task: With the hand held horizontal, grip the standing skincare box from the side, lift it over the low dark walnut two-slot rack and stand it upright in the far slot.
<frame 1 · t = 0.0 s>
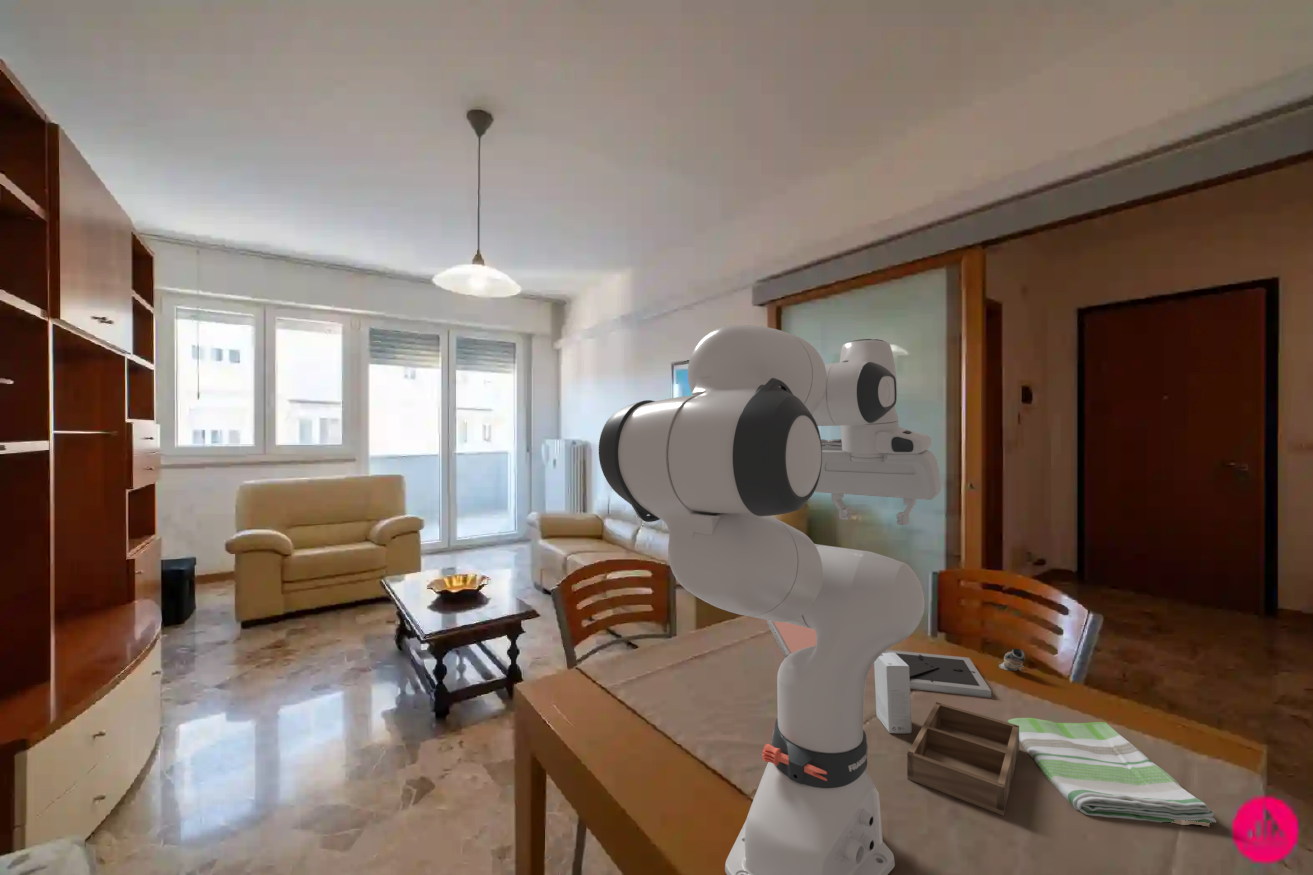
hand: (873, 521, 89), 39 cm above the table, tool pointing down, fingers open, 8 cm apart
vase: (1014, 674, 116), on the table
skincare box: (892, 725, 97), on the table
walnut slot rack: (965, 763, 86), on the table
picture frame: (926, 677, 117), on the table
dish towel: (1095, 773, 84), on the table
notebook: (808, 642, 136), on the table
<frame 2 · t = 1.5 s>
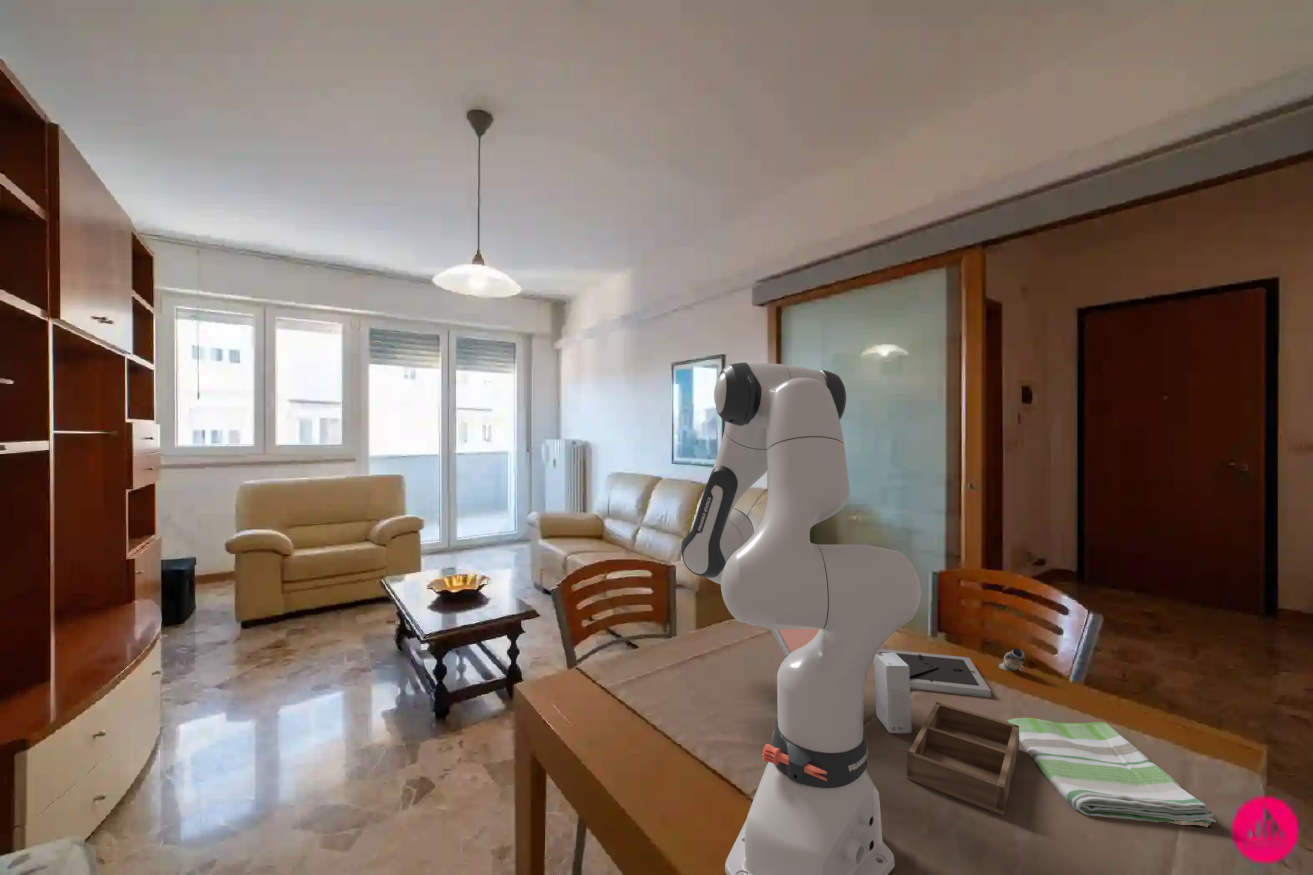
hand: (826, 591, 105), 22 cm above the table, tool horizontal, fingers open, 8 cm apart
nothing on the table moved.
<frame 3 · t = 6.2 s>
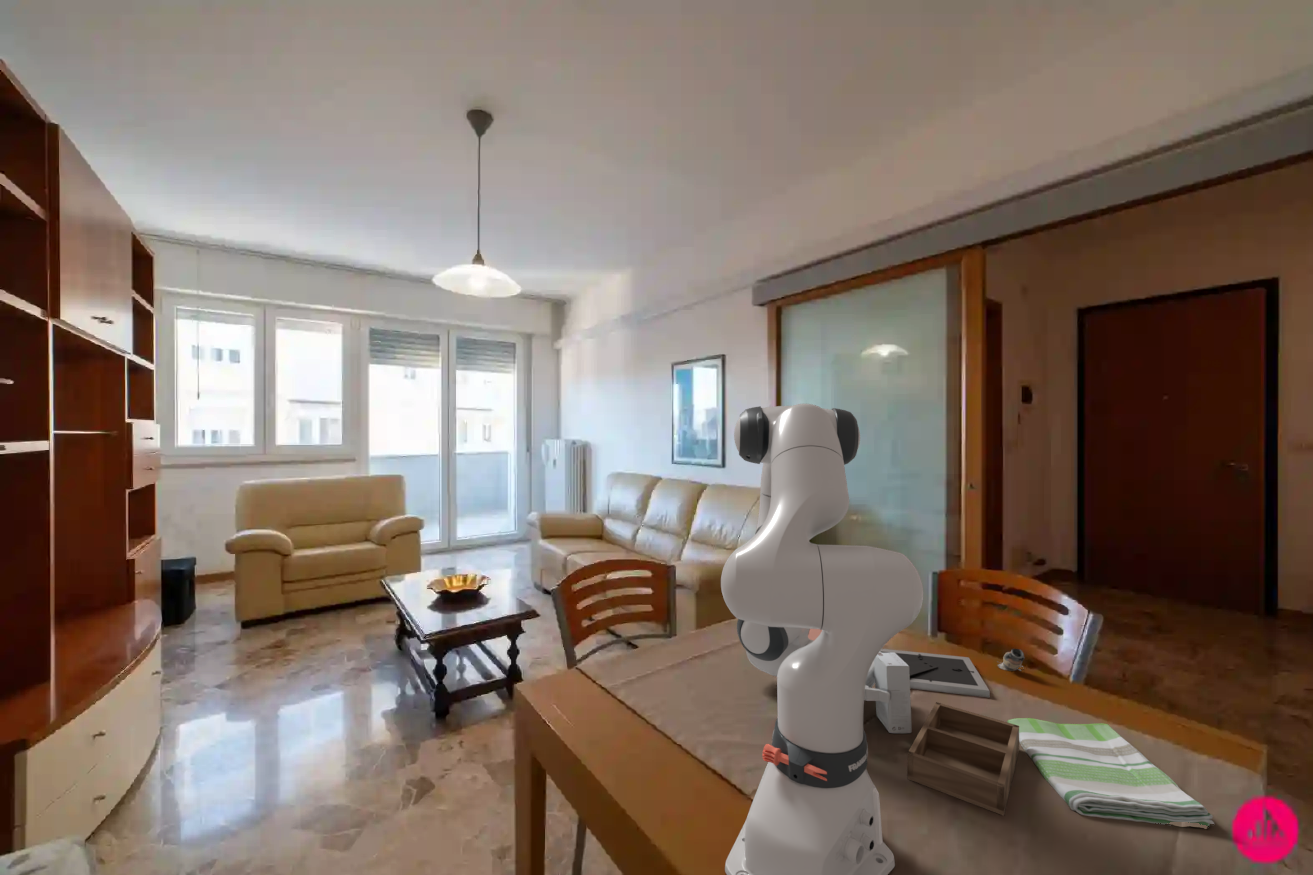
hand: (897, 687, 97), 7 cm above the table, tool horizontal, fingers closed on skincare box, 7 cm apart
skincare box: (892, 725, 97), on the table, touching gripper
everything else where it was.
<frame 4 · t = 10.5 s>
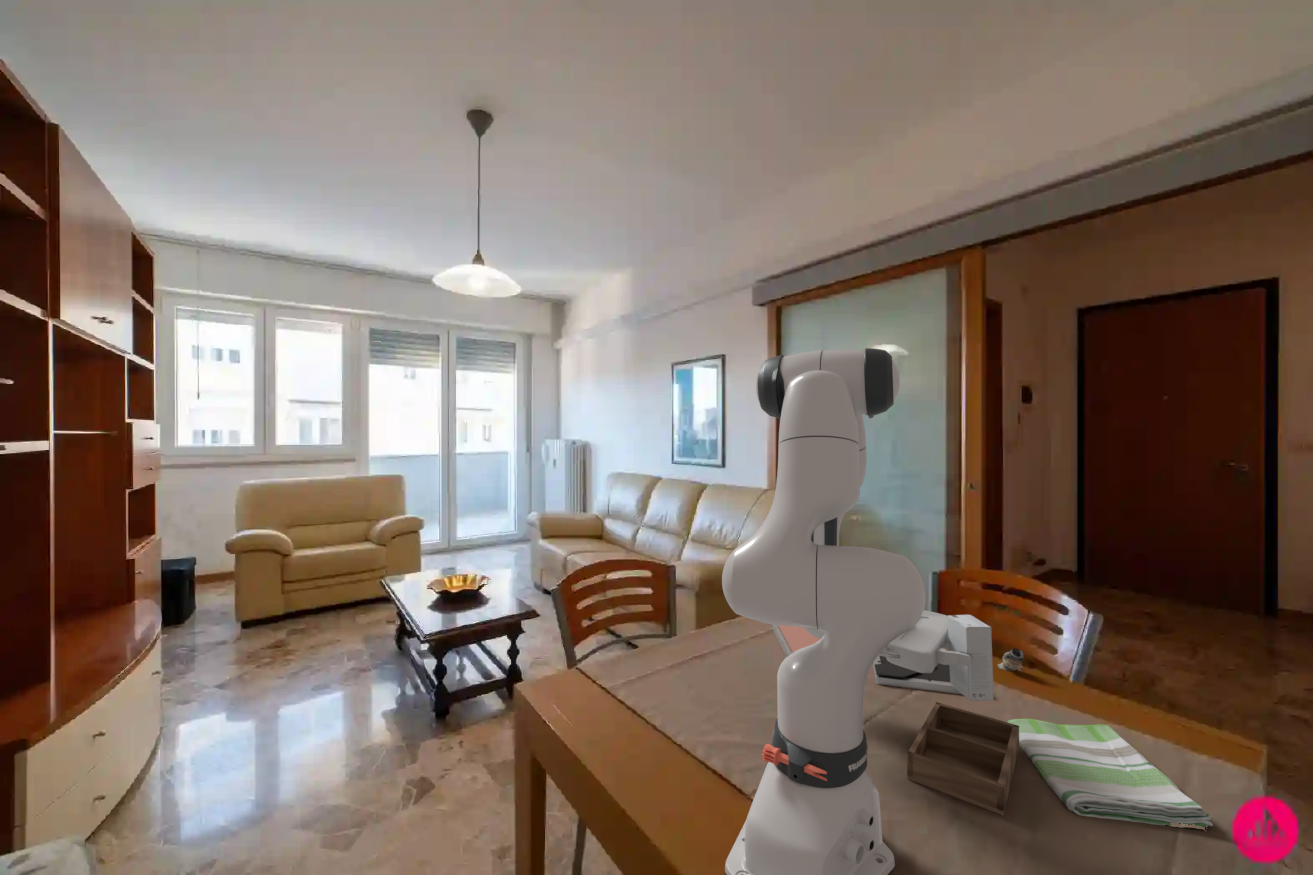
hand: (976, 651, 88), 17 cm above the table, tool horizontal, fingers closed on skincare box, 7 cm apart
skincare box: (969, 692, 89), point 10 cm above the table, touching gripper
everything else where it was.
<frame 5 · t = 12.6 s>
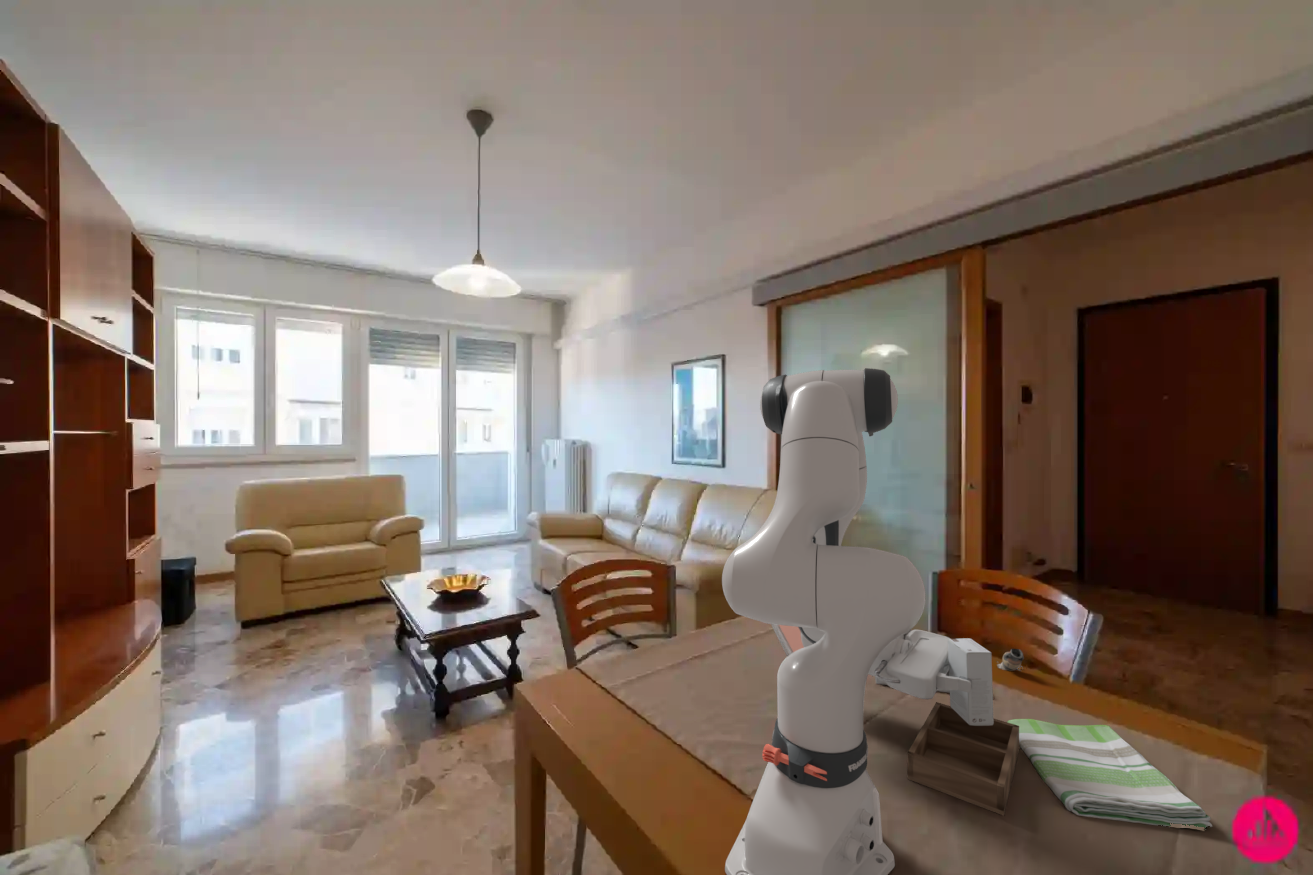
hand: (976, 675, 89), 13 cm above the table, tool horizontal, fingers closed on skincare box, 7 cm apart
skincare box: (969, 716, 90), point 5 cm above the table, touching gripper
everything else where it was.
when the fingers open (9 cm above the table, at t = 14.7 s): skincare box drops 1 cm, resting on walnut slot rack.
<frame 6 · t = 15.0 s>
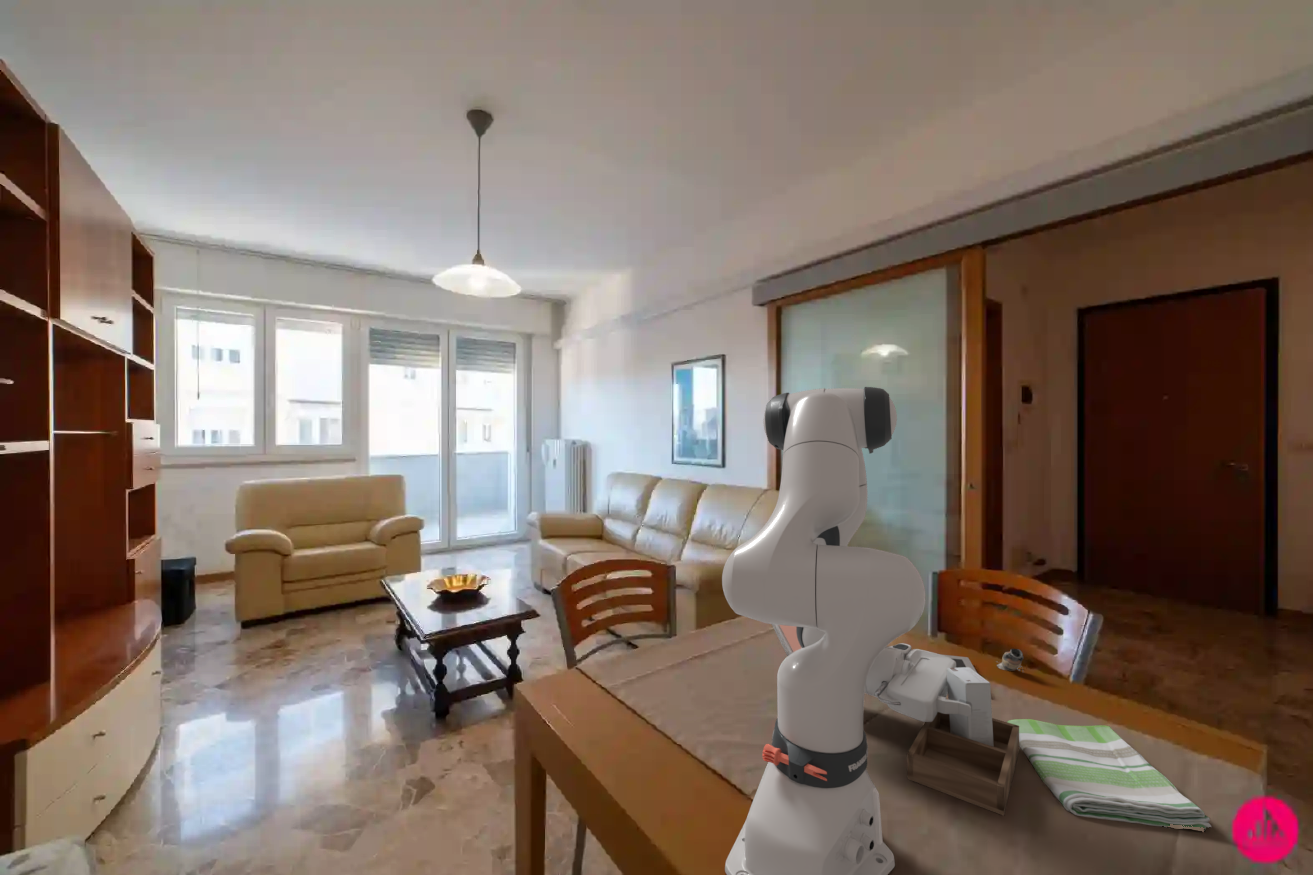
hand: (976, 697, 89), 9 cm above the table, tool horizontal, fingers open, 8 cm apart
skincare box: (970, 746, 89), resting on walnut slot rack
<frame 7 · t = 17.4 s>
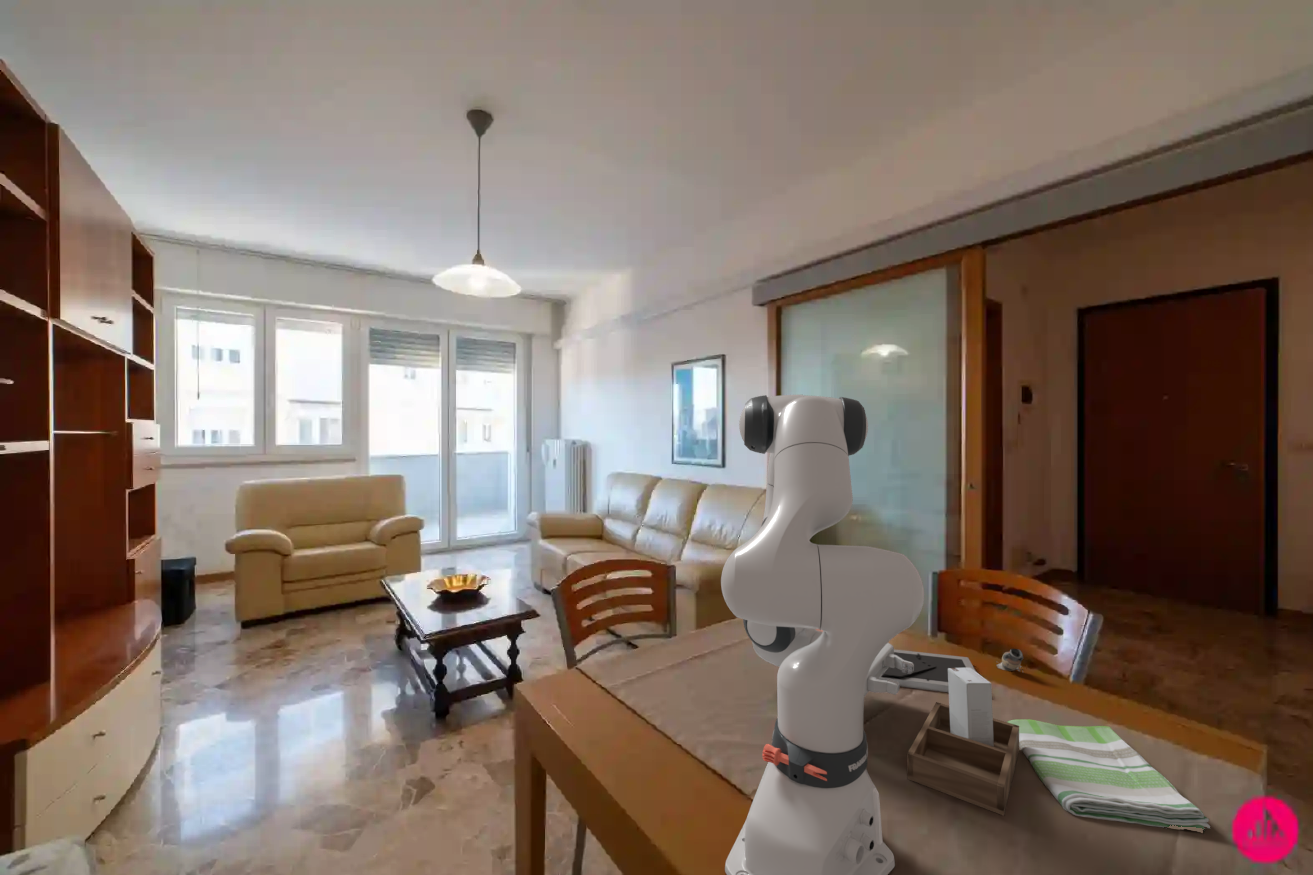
hand: (905, 678, 96), 9 cm above the table, tool horizontal, fingers open, 8 cm apart
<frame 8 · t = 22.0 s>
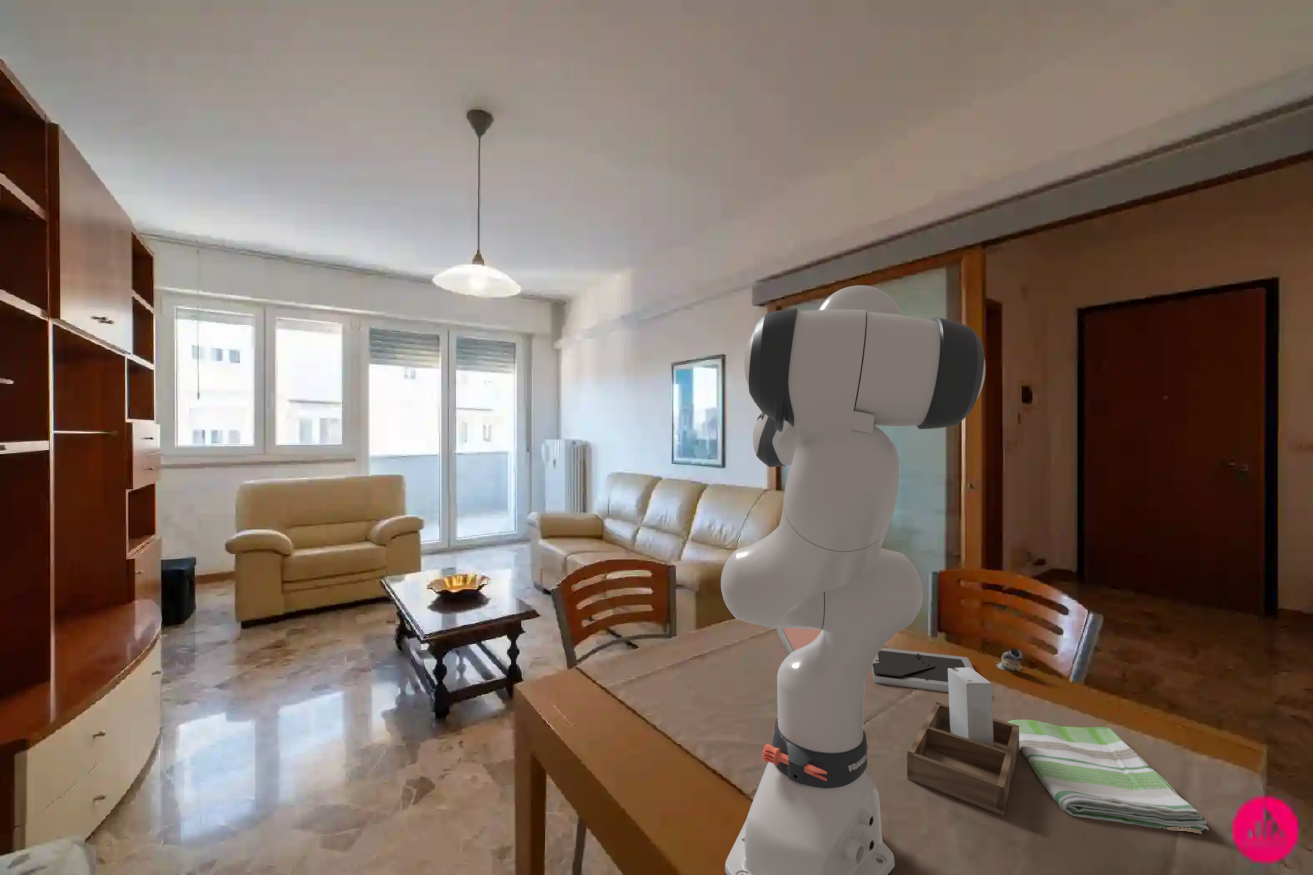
hand: (827, 553, 99), 31 cm above the table, tool pointing down, fingers open, 8 cm apart
at the end: skincare box 0.1 cm from the target spot on the walnut slot rack, point 0.4 cm above the walnut slot rack's base; skincare box tilted 0°; the gripper is holding nothing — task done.
